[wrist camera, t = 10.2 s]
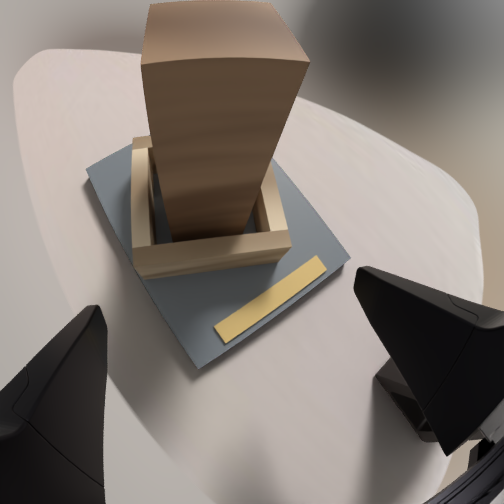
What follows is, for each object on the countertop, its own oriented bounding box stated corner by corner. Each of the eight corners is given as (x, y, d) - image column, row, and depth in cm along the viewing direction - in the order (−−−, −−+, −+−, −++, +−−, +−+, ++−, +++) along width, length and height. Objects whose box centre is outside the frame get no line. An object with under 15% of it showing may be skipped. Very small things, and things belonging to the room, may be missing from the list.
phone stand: (373, 373, 18) (516, 374, 7) (418, 320, 20) (544, 284, 9) (422, 441, 17) (536, 463, 6) (459, 390, 19) (568, 385, 8)
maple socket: (278, 262, 18) (292, 246, 16) (143, 279, 17) (133, 266, 14) (253, 153, 21) (261, 127, 18) (139, 164, 19) (132, 137, 16)
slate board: (344, 262, 20) (352, 257, 19) (198, 368, 17) (198, 369, 15) (223, 111, 23) (224, 102, 22) (89, 176, 19) (84, 167, 18)
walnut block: (242, 235, 19) (310, 61, 6) (173, 244, 18) (140, 64, 5) (230, 176, 20) (270, 3, 8) (167, 184, 19) (150, 4, 7)
